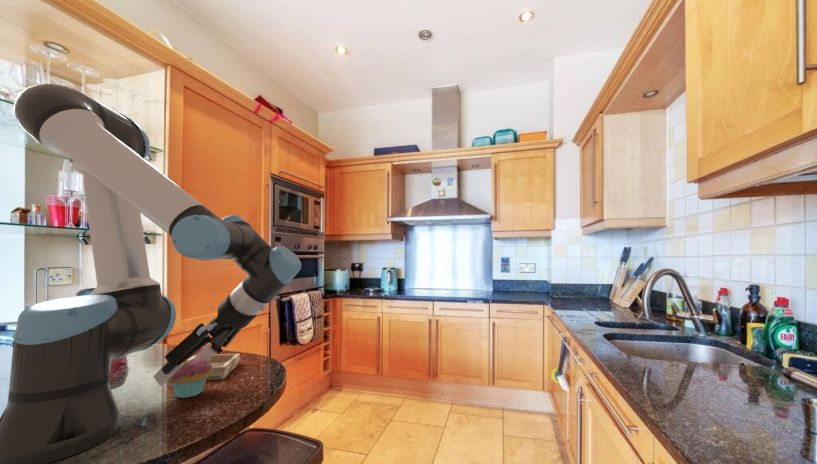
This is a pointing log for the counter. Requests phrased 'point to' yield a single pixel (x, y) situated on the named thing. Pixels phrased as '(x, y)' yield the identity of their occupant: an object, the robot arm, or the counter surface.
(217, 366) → the maple box
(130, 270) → the robot arm
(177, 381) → the cupcake
